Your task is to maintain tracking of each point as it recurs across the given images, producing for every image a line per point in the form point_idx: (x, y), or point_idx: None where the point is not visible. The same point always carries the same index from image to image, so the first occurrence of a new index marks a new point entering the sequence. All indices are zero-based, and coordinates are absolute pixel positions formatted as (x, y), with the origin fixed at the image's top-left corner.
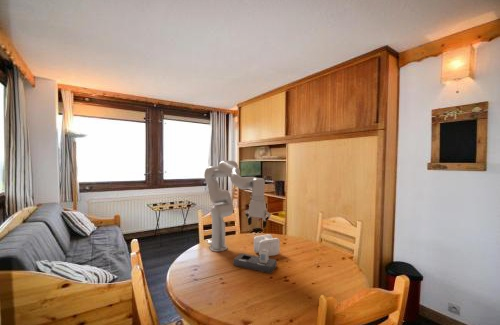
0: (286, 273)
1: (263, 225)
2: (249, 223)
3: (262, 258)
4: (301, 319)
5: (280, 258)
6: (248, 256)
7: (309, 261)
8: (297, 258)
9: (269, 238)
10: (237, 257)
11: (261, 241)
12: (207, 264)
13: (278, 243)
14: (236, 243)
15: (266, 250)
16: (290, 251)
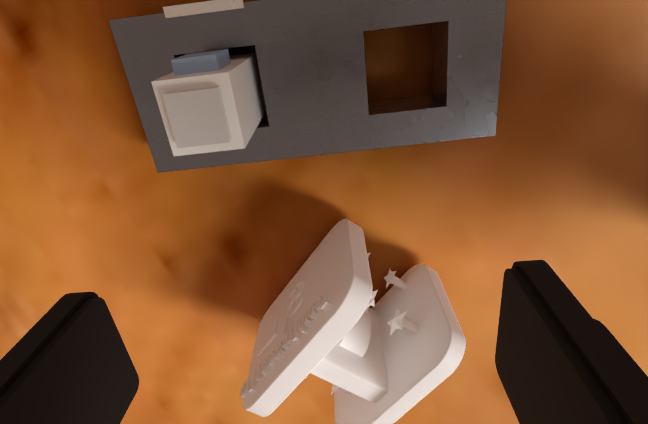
0: (53, 92)
1: (41, 330)
2: (528, 295)
3: (204, 53)
4: None
5: (225, 275)
6: (400, 110)
7: None
8: (139, 323)
9: (349, 409)
10: (485, 22)
11: (346, 296)
12: None
13: (250, 374)
14: (621, 331)
15: (171, 123)
16: (229, 382)
